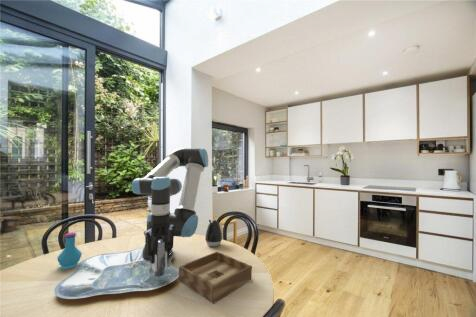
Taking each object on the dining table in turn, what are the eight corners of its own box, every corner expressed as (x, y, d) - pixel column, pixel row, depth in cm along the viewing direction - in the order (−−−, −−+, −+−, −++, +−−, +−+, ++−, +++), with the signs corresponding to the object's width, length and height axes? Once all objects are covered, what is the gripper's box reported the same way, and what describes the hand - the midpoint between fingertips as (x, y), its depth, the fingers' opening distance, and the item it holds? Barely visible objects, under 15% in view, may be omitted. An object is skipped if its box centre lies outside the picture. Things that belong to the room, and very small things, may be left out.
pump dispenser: (215, 240, 141) (215, 217, 141) (225, 245, 133) (225, 220, 133) (201, 244, 134) (202, 219, 134) (211, 249, 126) (212, 223, 127)
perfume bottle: (83, 265, 104) (84, 233, 105) (58, 272, 98) (60, 238, 98) (78, 259, 111) (80, 229, 111) (55, 265, 104) (56, 233, 104)
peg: (152, 274, 93) (153, 241, 93) (161, 270, 96) (161, 238, 96) (157, 277, 90) (157, 244, 90) (166, 274, 93) (166, 241, 93)
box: (178, 280, 93) (179, 266, 93) (216, 263, 110) (217, 251, 110) (213, 303, 79) (214, 286, 79) (251, 279, 95) (251, 265, 95)
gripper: (145, 219, 84) (143, 279, 84) (182, 211, 97) (181, 264, 97) (136, 215, 89) (135, 272, 89) (173, 208, 102) (172, 258, 102)
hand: (159, 268), depth 93 cm, fingers closed on peg, 4 cm apart
